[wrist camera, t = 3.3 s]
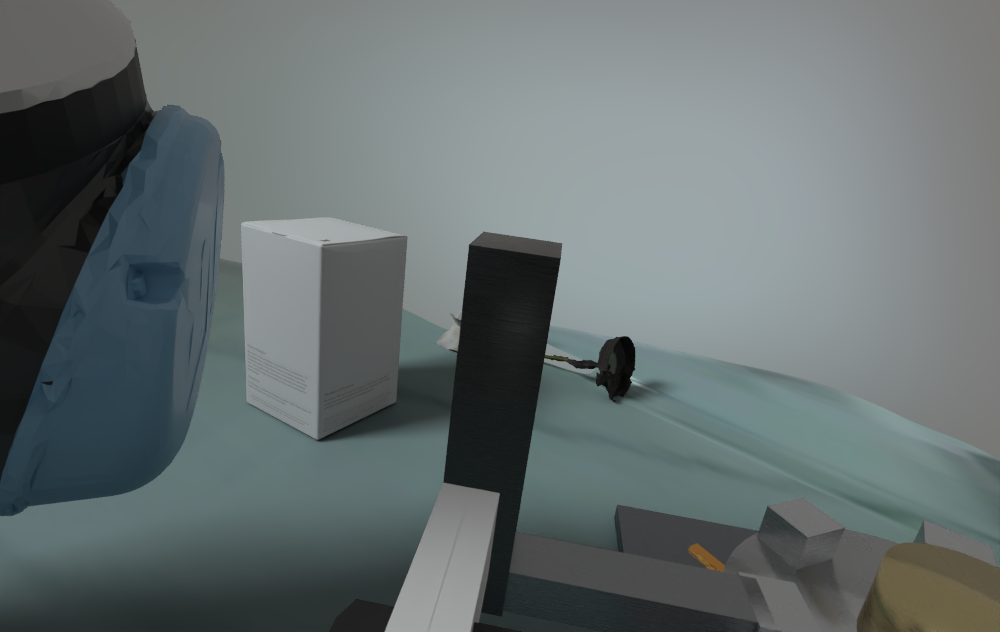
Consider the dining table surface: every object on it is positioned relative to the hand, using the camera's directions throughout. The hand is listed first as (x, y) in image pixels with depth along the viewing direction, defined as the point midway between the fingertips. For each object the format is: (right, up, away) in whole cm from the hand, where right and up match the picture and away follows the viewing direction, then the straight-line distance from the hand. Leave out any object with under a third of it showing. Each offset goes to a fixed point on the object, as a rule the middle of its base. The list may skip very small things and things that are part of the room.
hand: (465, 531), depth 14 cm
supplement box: (-14, -2, +31) cm, 34 cm away
